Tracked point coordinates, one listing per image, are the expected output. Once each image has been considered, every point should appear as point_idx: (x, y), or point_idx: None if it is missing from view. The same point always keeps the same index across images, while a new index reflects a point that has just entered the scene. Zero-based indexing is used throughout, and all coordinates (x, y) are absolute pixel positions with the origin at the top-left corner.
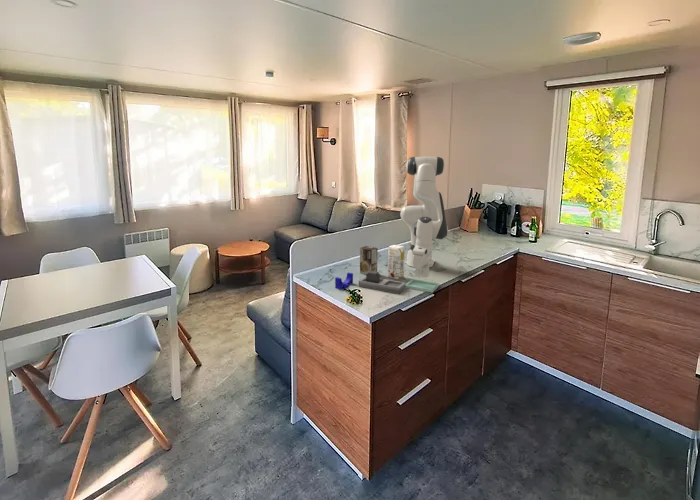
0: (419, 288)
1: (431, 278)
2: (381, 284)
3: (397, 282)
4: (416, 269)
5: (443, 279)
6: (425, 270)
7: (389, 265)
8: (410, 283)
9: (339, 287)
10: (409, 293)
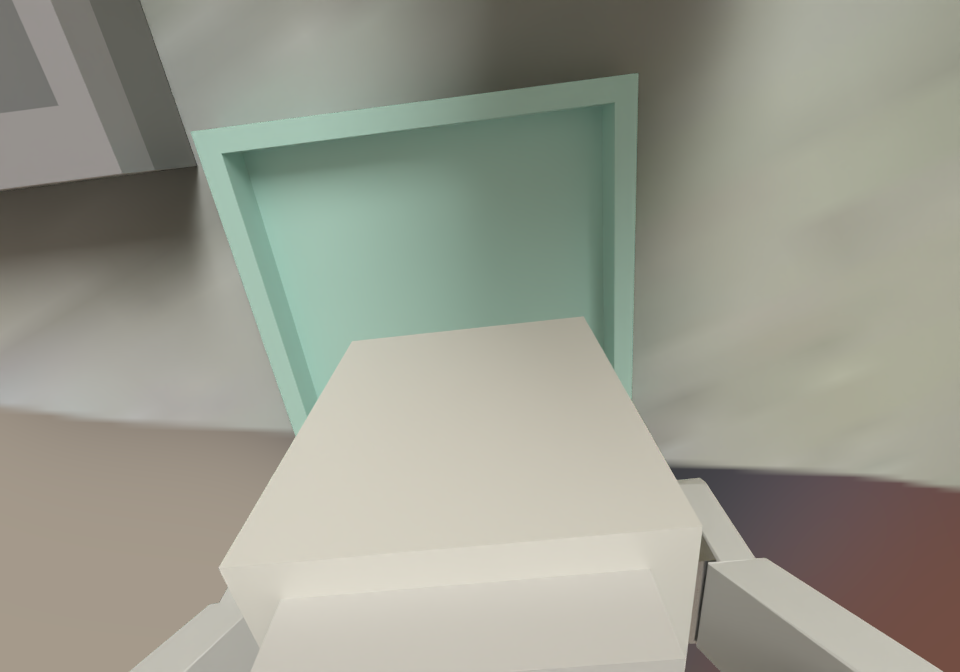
0: (288, 398)
1: (920, 294)
2: None
3: None
4: (289, 484)
5: (917, 442)
6: None
7: None
8: (462, 124)
9: None
10: (73, 331)
